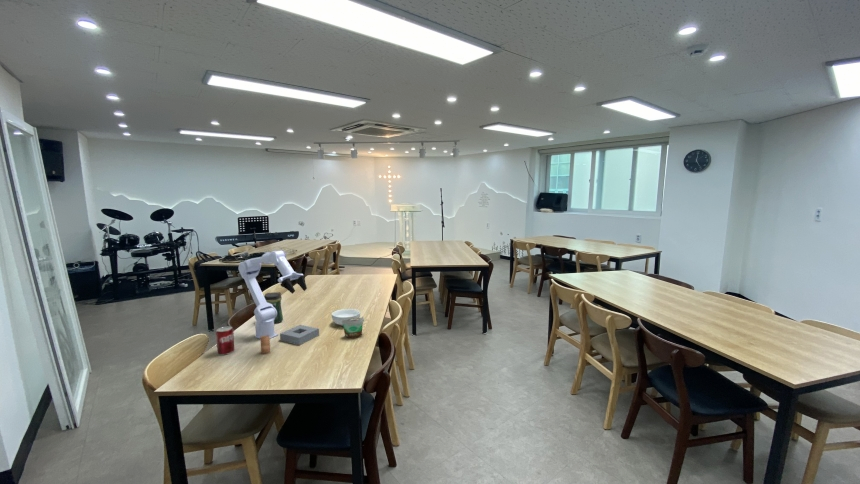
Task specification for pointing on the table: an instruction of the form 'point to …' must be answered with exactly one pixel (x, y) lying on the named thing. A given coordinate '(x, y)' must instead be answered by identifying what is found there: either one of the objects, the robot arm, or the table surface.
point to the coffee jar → (275, 304)
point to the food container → (353, 327)
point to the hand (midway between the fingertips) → (299, 290)
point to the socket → (299, 334)
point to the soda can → (225, 340)
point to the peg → (265, 344)
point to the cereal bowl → (345, 315)
